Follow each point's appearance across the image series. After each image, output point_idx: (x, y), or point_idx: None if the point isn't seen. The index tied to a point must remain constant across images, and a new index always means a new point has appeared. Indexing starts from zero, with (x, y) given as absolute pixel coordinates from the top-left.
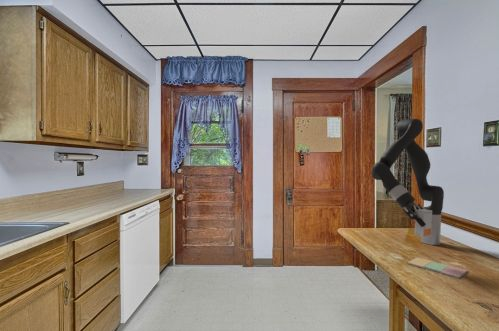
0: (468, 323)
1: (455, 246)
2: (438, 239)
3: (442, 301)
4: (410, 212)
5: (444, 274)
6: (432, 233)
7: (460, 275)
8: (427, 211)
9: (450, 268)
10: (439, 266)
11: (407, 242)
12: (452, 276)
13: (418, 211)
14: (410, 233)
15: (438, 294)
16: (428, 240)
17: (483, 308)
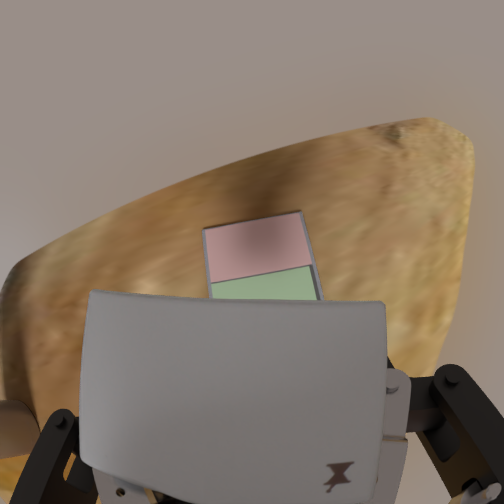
0: (460, 136)
1: (3, 360)
2: (10, 403)
3: (455, 178)
4: (498, 431)
5: (311, 251)
6: (5, 421)
7: (280, 216)
8: (264, 301)
9: (239, 265)
10: (257, 296)
11: None
12: (306, 229)
13: (376, 437)
14: (11, 484)
15: (442, 194)
16: (30, 430)
17: (403, 132)
